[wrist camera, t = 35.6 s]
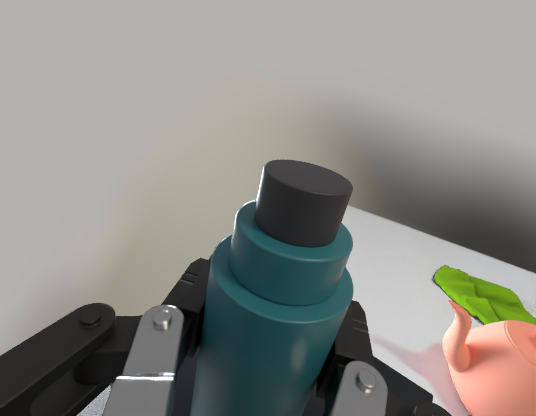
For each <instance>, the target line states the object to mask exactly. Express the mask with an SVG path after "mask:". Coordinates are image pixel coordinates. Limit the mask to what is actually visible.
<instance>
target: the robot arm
mask: <svg viewBox="0 0 536 416" xmlns="http://www.w3.org/2000/svg"><path fill="white" fill-rule="evenodd" d="M212 255H213V254H212ZM212 255H211V257H210V258H209V260H206V259H203V258H200V259H198V260H196V261H194V262H193V263H191V264H190V266H189V267H188V268H187V270H186V271H185V273H184V274H183V275H182V277H181V279H180V280H179V281H178V282H177V284H176V285H175V286H174V288H173V289H172V290H171V292H170V293H169V295H168V296H167V297H166V299H165V300H164V302H163V303H162V304H161V305H159V306H156V307H153V308H151V309H149V310H148V311H146V312H145V313H144V315H141V316H115V311H114V309H113V308H112V307H111V306H109V305H107V304H103V303H92V304H88V305H84V306H82V307H80V308H78V309H76V310H75V311H73V312H71V313H70V314H68V315H66V316H65V317H63V318H62V319H60V320H58V321H57V322H55V323H53V324H52V325H50V326H48V327H47V328H45V329H43V330H42V331H40V332H39V333H37V334H35V335H34V336H32V337H31V338H29V339H27V340H25V341H24V342H22V343H21V344H19V345H17V346H16V347H14V348H12V349H11V350H9V351H8V352H6V353H4V354H3V355H1V356H0V416H76V415H78V414H79V413H80V412H81V411H82V410H83V409H84V408H85V407H86V406H87V405H88V404H89V403H91V402H92V401H93V400H94V399H95V398H96V397H97V396H98V395H99V394H100V393H101V392H102V391H103V390H105V389H106V388H107V387H108V386H109V385H110V384H111V383H114V384H113V386H112V389H111V392H110V395H109V397H108V400H107V403H106V406H105V409H104V411H103V414H102V416H172V413H173V407H174V400H175V394H176V387H177V381H178V375H179V369H180V367H181V365H182V363H183V361H184V359H185V357H186V356H187V357H190V358H194V356H195V354H196V352H197V349H198V347H199V345H200V339H201V332H202V324H203V317H204V309H205V302H206V295H207V287H208V280H209V273H210V265H211V258H212ZM366 324H367V321H366V316H365V312H364V310H363V309H362V307H361V305H360V304H359V302H357V301H353V300H351V303H350V305H349V308H348V310H347V312H346V314H345V317H344V319H343V321H342V324H341V326H340V328H339V331H338V333H337V335H336V338H335V340H334V342H333V344H332V347H331V349H330V351H329V354H328V356H327V358H326V361H325V363H324V365H323V367H322V370H321V372H320V374H319V377H318V379H317V381H316V397H319V398H322V399H325V410H324V412H323V414H322V416H452V415H451V414H450V413H448V412H447V411H446V410H445V409H443V408H442V407H440V406H439V405H437V404H434V403H432V402H426V401H425V402H420V403H419V404H418V405H417V406H416V407H415V406H413V405H412V404H410V403H408V402H407V401H405V400H403V399H402V398H400V397H398V396H397V395H395V394H394V393H393V392H391V391H390V390H389V389H388V388H387V385H386V382H385V380H384V378H383V377H382V375H381V374H380V373H379V372H378V371H377V370H376V369H375V365H374V360H373V354H372V349H371V343H370V338H369V334H368V327H367V325H366Z"/></svg>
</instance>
